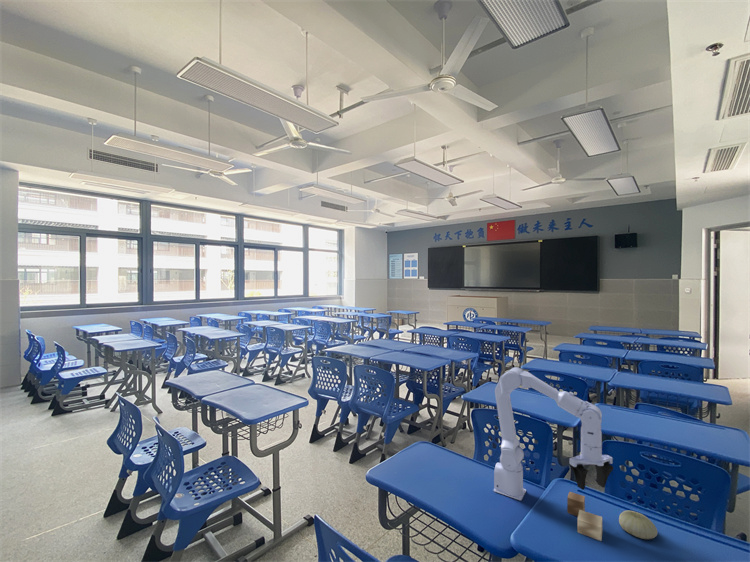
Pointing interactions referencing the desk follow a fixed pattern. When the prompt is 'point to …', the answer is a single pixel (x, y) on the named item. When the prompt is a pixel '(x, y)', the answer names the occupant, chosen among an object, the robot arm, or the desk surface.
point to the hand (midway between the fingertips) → (591, 486)
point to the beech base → (589, 525)
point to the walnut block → (575, 503)
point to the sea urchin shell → (637, 525)
